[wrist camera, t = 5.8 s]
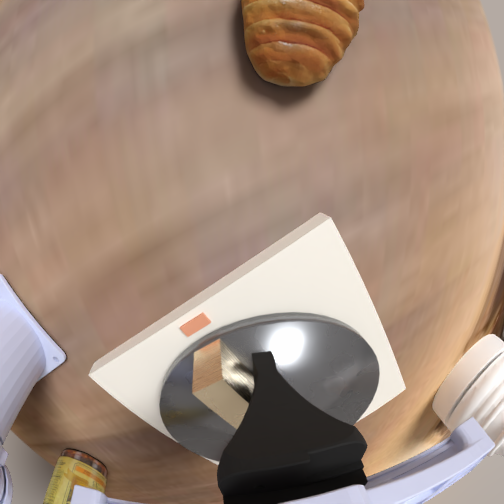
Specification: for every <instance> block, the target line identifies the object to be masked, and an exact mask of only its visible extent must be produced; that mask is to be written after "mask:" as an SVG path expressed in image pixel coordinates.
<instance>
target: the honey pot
mask: <svg viewBox="0 0 504 504" xmlns="http://www.w3.org/2000/svg"><path fill="white" fill-rule="evenodd" d="M432 407H433V410H434V412H435V413H436V414H437V415H438V417H439V418H440V419H441V420H442V422H443V423H444V424H445V425H446V426H447V428H448V429H450V432H451V433H452V432H453V431H454V430H455V428H457V427H458V426H459V425H460V424H462V423H463V422H465V421H466V420H468V419H469V418H471V417H474V419H475V420H476V421H477V422H478V424H479V425H480V426H481V427H482V428H483V430H484V431H485V432H486V433H487V435H488V436H489V437H490V439H491V440H492V441H493V442H494V444H495V447H494V448H493V449H492V450H491V451H490V452H489V453H488V454H487V456H489V457H490V456H492V455H493V454H499V455H502V456H504V342H503V341H502V340H501V339H499V338H498V337H497V336H496V335H494V334H489V335H487V336H485V337H483V338H482V339H480V340H479V341H478V342H477V343H476V344H474V345H473V346H472V347H471V348H470V349H469V350H468V351H467V352H466V353H465V354H464V355H463V357H462V358H461V359H460V360H459V361H458V362H457V364H456V365H455V366H454V367H453V369H452V370H451V371H450V373H449V374H448V375H447V377H446V378H445V380H444V381H443V383H442V384H441V386H440V387H439V389H438V391H437V393H436V395H435V397H434V400H433V404H432Z"/></svg>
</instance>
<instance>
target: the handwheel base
mask: <svg viewBox="0 0 504 504" xmlns="http://www.w3.org/2000/svg"><path fill="white" fill-rule="evenodd" d="M285 312H302V313H314V314H319V315H325V316H328V317H331V318H334V319H337V320H340V321H342V322H344V323H346V324H348V325H349V326H351V327H352V328H353V329H355V330H356V331H357V332H359V333H360V335H361V336H362V337H363V338H364V339H365V340H366V342H367V343H368V344H369V345H370V346H371V348H372V349H373V351H374V353H375V355H376V356H377V360H378V363H379V371H380V376H379V384H378V387H377V391H376V393H375V396H374V398H373V400H372V402H371V403H370V405H369V407H368V408H367V410H366V411H365V412H364V414H363V415H362V416H361V417H360V419H359V420H361V419H362V418H364V417H366V416H367V415H369V414H370V413H372V412H374V411H375V410H377V409H378V408H380V407H381V406H383V405H384V404H385V403H387V402H388V401H390V400H391V399H393V398H394V397H395V396H397V395H398V394H400V393H401V392H402V391H404V390H405V389H406V388H405V385H404V382H403V379H402V376H401V373H400V370H399V368H398V365H397V362H396V359H395V357H394V354H393V352H392V349H391V346H390V344H389V341H388V339H387V336H386V334H385V331H384V329H383V326H382V324H381V322H380V319H379V317H378V314H377V312H376V310H375V307H374V305H373V303H372V301H371V298H370V296H369V294H368V292H367V289H366V287H365V285H364V283H363V281H362V279H361V276H360V274H359V272H358V270H357V268H356V266H355V264H354V262H353V260H352V258H351V256H350V254H349V252H348V250H347V248H346V246H345V244H344V242H343V240H342V238H341V236H340V234H339V232H338V230H337V228H336V226H335V224H334V223H333V221H332V219H331V217H329V216H327V215H325V214H323V213H318V214H317V215H315V216H314V217H312V218H311V219H309V220H308V221H306V222H305V223H303V224H302V225H300V226H299V227H298V228H296V229H295V230H293V231H292V232H290V233H289V234H287V235H286V236H284V237H283V238H281V239H280V240H278V241H277V242H275V243H274V244H272V245H271V246H269V247H268V248H266V249H265V250H263V251H262V252H260V253H259V254H257V255H256V256H254V257H253V258H251V259H250V260H248V261H247V262H245V263H244V264H242V265H241V266H239V267H238V268H236V269H235V270H233V271H232V272H230V273H229V274H227V275H226V276H224V277H223V278H221V279H220V280H218V281H217V282H215V283H214V284H212V285H211V286H209V287H208V288H206V289H205V290H203V291H202V292H200V293H199V294H197V295H196V296H194V297H193V298H191V299H190V300H188V301H187V302H185V303H184V304H182V305H180V306H179V307H177V308H176V309H174V310H173V311H171V312H170V313H168V314H167V315H165V316H164V317H162V318H161V319H159V320H158V321H156V322H155V323H153V324H152V325H150V326H149V327H147V328H146V329H144V330H143V331H141V332H140V333H138V334H137V335H135V336H133V337H132V338H130V339H129V340H127V341H126V342H124V343H123V344H121V345H120V346H118V347H117V348H115V349H114V350H112V351H111V352H109V353H108V354H106V355H105V356H103V357H101V358H100V359H98V360H97V361H95V362H94V364H93V366H92V369H91V371H90V373H89V376H90V377H91V378H92V379H93V380H94V381H95V382H96V383H98V384H99V385H100V386H101V387H102V388H103V389H104V390H106V391H107V392H108V393H109V394H110V395H112V396H113V397H114V398H115V399H116V400H118V401H119V402H120V403H121V404H123V405H124V406H125V407H127V408H128V409H129V410H131V411H132V412H133V413H135V414H136V415H137V416H139V417H140V418H141V419H143V420H144V421H146V422H147V423H148V424H150V425H151V426H153V427H154V428H156V429H157V430H159V431H160V432H162V433H163V434H165V435H166V436H168V437H169V438H171V439H173V440H174V441H176V440H175V439H174V438H173V437H172V436H171V435H170V433H169V432H168V431H167V429H166V427H165V426H164V424H163V422H162V418H161V415H160V406H159V403H160V397H161V390H162V384H163V381H164V378H165V376H166V373H167V372H168V370H169V368H170V367H171V365H172V363H173V362H174V361H175V360H176V359H177V358H178V356H179V355H180V354H181V353H182V352H183V351H185V350H186V349H187V348H188V347H189V346H190V345H192V344H193V343H194V342H196V341H197V340H199V339H201V338H202V337H204V336H205V335H207V334H209V333H211V332H213V331H215V330H217V329H219V328H221V327H223V326H226V325H229V324H232V323H234V322H237V321H240V320H244V319H247V318H251V317H255V316H260V315H266V314H273V313H285ZM359 420H358V421H359ZM358 421H357V422H358ZM176 442H177V441H176ZM177 443H178V442H177ZM202 457H203V456H202ZM204 458H205V457H204ZM205 459H207V460H209V461H211V462H213V463H215V464H217V465H219V461H215V460H211V459H208V458H205Z"/></svg>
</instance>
